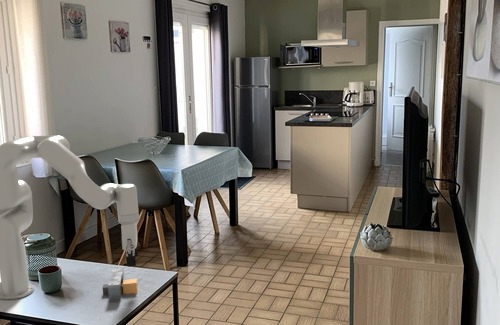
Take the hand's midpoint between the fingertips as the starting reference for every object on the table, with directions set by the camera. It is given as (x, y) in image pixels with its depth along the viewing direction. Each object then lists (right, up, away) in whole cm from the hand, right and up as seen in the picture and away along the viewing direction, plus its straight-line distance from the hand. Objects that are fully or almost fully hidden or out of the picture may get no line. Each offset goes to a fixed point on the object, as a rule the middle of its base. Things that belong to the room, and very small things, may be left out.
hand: (132, 261), depth 188 cm
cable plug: (-5, -12, +2) cm, 13 cm away
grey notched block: (-6, -12, +1) cm, 14 cm away
